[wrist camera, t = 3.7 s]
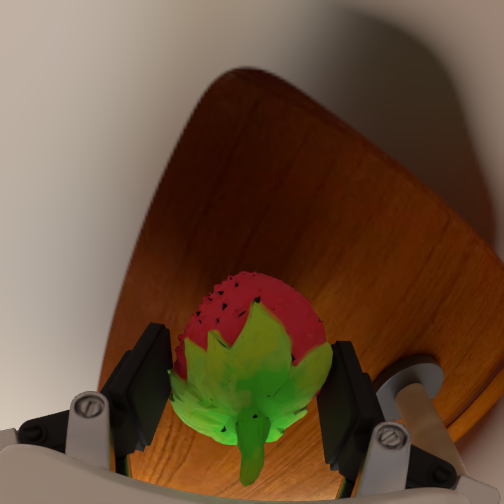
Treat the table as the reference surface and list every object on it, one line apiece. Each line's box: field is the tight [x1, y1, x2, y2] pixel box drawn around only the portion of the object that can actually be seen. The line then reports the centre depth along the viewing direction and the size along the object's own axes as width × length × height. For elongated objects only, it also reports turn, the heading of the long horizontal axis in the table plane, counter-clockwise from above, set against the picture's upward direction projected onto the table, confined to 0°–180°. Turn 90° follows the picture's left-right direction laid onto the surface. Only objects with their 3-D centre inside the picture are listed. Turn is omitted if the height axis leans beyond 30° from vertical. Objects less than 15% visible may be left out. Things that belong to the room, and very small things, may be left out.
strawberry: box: [167, 271, 333, 487], centre depth 11 cm, size 6×7×10 cm
